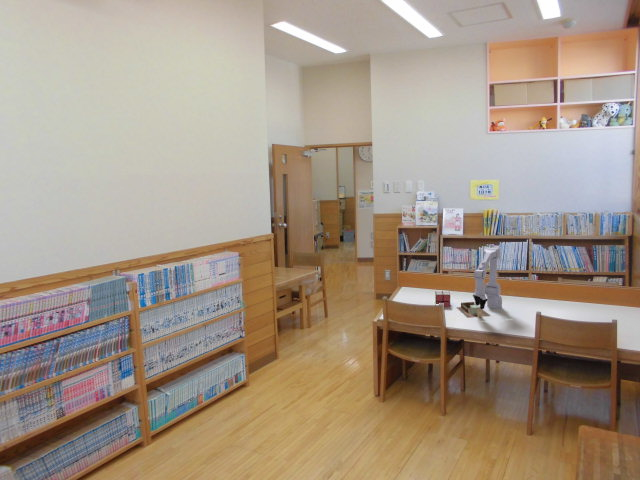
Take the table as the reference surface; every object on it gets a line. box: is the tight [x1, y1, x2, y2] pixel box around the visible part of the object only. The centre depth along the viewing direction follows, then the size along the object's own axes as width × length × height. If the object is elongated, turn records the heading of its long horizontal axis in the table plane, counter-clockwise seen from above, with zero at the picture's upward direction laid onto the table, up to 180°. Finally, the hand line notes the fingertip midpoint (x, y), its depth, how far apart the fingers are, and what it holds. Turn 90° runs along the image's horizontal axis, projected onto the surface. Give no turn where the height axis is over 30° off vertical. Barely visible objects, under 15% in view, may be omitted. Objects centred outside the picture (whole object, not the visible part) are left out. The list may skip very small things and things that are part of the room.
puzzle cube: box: [434, 290, 451, 308], centre depth 339 cm, size 10×10×10 cm
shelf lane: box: [455, 301, 491, 318], centre depth 321 cm, size 16×22×4 cm
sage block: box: [470, 305, 483, 318], centre depth 314 cm, size 5×12×6 cm, turn 3°
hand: (479, 307), depth 309 cm, fingers open, 7 cm apart
